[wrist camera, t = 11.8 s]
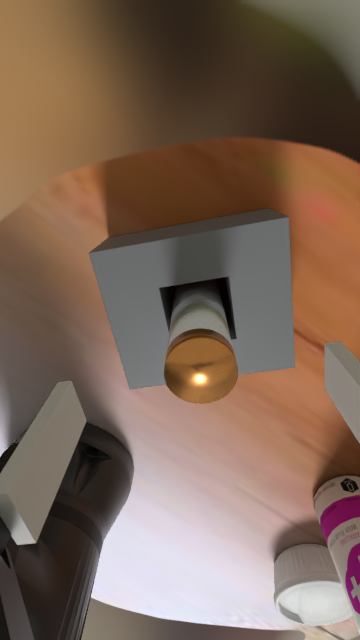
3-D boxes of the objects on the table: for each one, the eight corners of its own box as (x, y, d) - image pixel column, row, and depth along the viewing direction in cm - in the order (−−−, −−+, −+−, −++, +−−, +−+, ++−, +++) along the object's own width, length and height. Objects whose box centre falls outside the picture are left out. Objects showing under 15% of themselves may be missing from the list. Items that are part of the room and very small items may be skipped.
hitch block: (139, 353, 33) (129, 389, 28) (108, 237, 28) (88, 253, 23) (277, 334, 32) (295, 367, 26) (269, 208, 27) (288, 216, 21)
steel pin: (179, 311, 31) (171, 407, 18) (171, 272, 29) (156, 347, 17) (220, 305, 31) (241, 398, 18) (215, 264, 29) (233, 335, 16)
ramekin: (251, 559, 47) (258, 602, 43) (315, 526, 44) (330, 570, 39) (297, 591, 50) (308, 635, 46) (360, 563, 47) (379, 607, 42)
